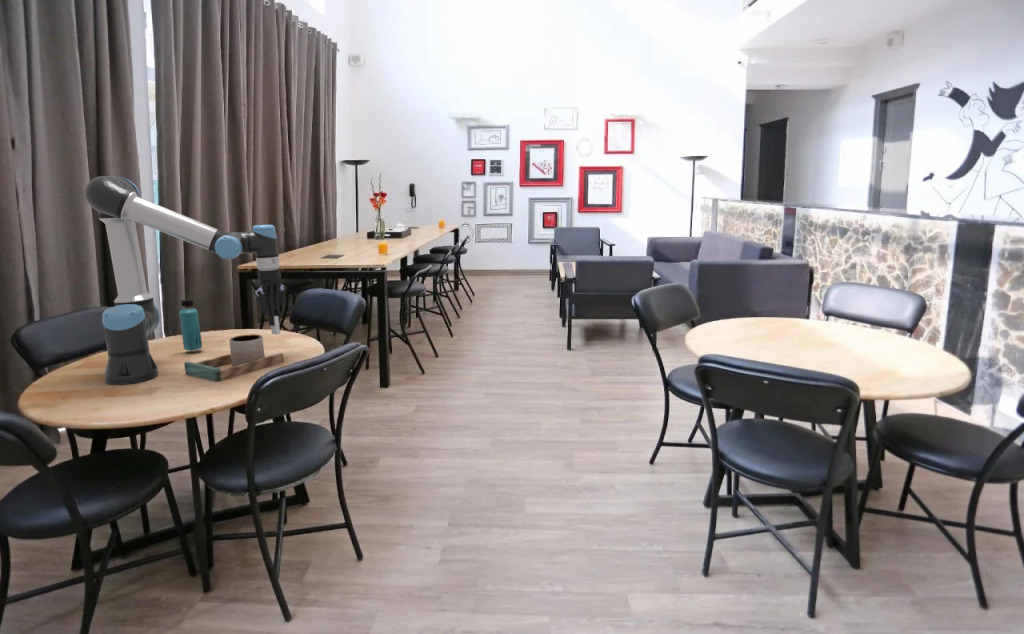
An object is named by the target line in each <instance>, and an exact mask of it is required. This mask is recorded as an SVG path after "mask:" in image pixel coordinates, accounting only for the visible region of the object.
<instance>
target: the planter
mask: <svg viewBox="0 0 1024 634" xmlns="http://www.w3.org/2000/svg"><path fill="white" fill-rule="evenodd" d="M263 338H264V337H263V335H261V334H253V333H250V334H242V335H236V336H232V337H230V338H229V339H228V340H229V349H230V354H231V363H230V364H231V367H233V366H237V365H240V364H244V363H247V362H251V361H254V360H258V359H261V358H265V357H266V356H265V349H264V339H263Z"/></svg>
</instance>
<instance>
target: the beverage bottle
mask: <svg viewBox="0 0 1024 634" xmlns="http://www.w3.org/2000/svg"><path fill="white" fill-rule="evenodd" d="M180 303H181V304H180V305H181V307H184V308H182V309H181V310H180V311H179V312H178V314H179V320H180V327H181V328H180V329H181V330H180V331H181V332H180V333H181V339H182V344H183V346H182V347H183V349H184V350H185V351H196V350H200V349H202V348H203V341H202V339H203V338H202V334H201V333H202V332H201V328H200V327H201V325H200V319H199V313H198V312H199V311H198V309H196V308H194V307H192V306H194V305H195V304H194V300H193V299H191V298H190V299H183V300H181V301H180Z"/></svg>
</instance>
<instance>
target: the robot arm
mask: <svg viewBox="0 0 1024 634" xmlns="http://www.w3.org/2000/svg"><path fill="white" fill-rule="evenodd" d="M84 197H85V200H86V202H87V204H88V205H89V207H91V208H93V210H95V211H97V215H98V216H97V217H98V220H99V221H101V222H102V223H104V224H105V229H106V234H107V241H108V245H109V246H108V247H109V251H110V258H111V263H112V268H113V274H114V279H115V284H116V289H117V297H116V298H115V299H113V302H114V306H110V307H109V308H106V309H105V310H104V311H103V313H102V319H101V321H102V326H103V331H104V338H105V343H106V344H105V345H106V350H107V351H106V352H107V363H106V367H105V373H104V381H105V383H106V384H110V385H128V384H136V383H141V382H146V381H148V380H152V379H154V378H155V377H157V376H158V375H159V368H158V366H157V363H156V362H155V360H154V358H153V357H152V354H151V353H150V348H149V346H150V345H149V339H148V336H149V335H150V334H152V333H154V331H155V330H156V329H157V328H158V326H159V323H160V322H161V321H160V320H161V315H160V311H159V309H158V307H157V306H156V305H155V301H154V296H153V295H152V294H151V293H149V292H148V290H147V284H146V279H145V271H144V267H143V265H144V264H143V261H142V256H141V249H140V245H139V244H140V242H139V237H138V230H137V225H136V223H138V224H141V225H143V226H146V227H148V228H150V229H151V228H152V229H153V230H156V231H159V232H161V233H164V234H166V235H168V236H171V237H174V238H176V239H179V240H181V241H184V242H186V243H189V244H192V245H194V246H197V247H200V248H202V249H204V250H207V251H208V252H211V253H214V254H216V255H217V256H218V257H220V258H222V259H224V260H232V259H236V258H238V256H240V255H243V254H244V255H245V254H255V260H256V268H257V277H258V281H259V285H258V289H256V290H253V293H254V296H256V298H257V301H258V304H259V307H260V310H261V313H262V316H264V317H267V318H268V324H269V326H270V330H271V335H280V334H281V329H280V324H281V316H282V314H284V313H285V308H286V307H285V306H286V295H287V294H286V293H287V291H288V288H289V287H288V286H287V285H284V284H282V283H283V282H282V281H281V279H282V275H281V274H282V273H281V269H280V258H279V248H278V246H279V245H278V236H277V233H276V227H275V225H273V224H261V225H260V224H257V225H256V224H255V225H253V226H252V229H251V230H250V231H237V232H236V231H235V232H234V231H233V232H231V231H230V232H228V231H227V232H225V231H223V230H220V229H218V228H215V227H213V226H210V225H209V224H206V223H203V222H201V221H199V220H195V219H194V218H191V217H189V216H186V215H184V214H181V213H179V212H177V211H174V210H171V209H170V208H167V207H164V206H162V205H160V204H157V203H154V202H152V201H149V200H147V199H144V198H142V197H140V191H139V189H138V187H137V186H136V184H134V183H133V182H132V181H131V180H129V179H128V178H125V177H123V176H120V175H111V176H108V175H101V176H97V177H94V178H92V179H91V180H90V181H88V182H87V184H86V186H85V189H84Z"/></svg>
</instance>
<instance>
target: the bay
mask: <svg viewBox="0 0 1024 634" xmlns="http://www.w3.org/2000/svg"><path fill="white" fill-rule="evenodd" d="M284 360H285V359H284V353H281V352H280V353H276V354H272V355H269V356H265V358H261V359H258V360H254V361H251V362H247V363H244V364H240V365H237V366H230V367H227V368H223V369H221V368H220V367H221V366H224V365H229V364H232V363H231V353H227V354H223V355H220V356H215V357H213V358H209V359H204V360H200V361H197V362H192V361H185V362H184V363H183V365H184V371H185V375H187V376H191V377H196V378H200V379H204V380H209V381H213V382H217V383H218V382H222V381H225V380H228V379H230V378H235V377H238V376H241V375H244V374H249V373H251V372H252V373H253V372H255V371H258V370H261V369H264V368H268V367H271V366H274V365H278V364H282V363H284Z"/></svg>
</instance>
